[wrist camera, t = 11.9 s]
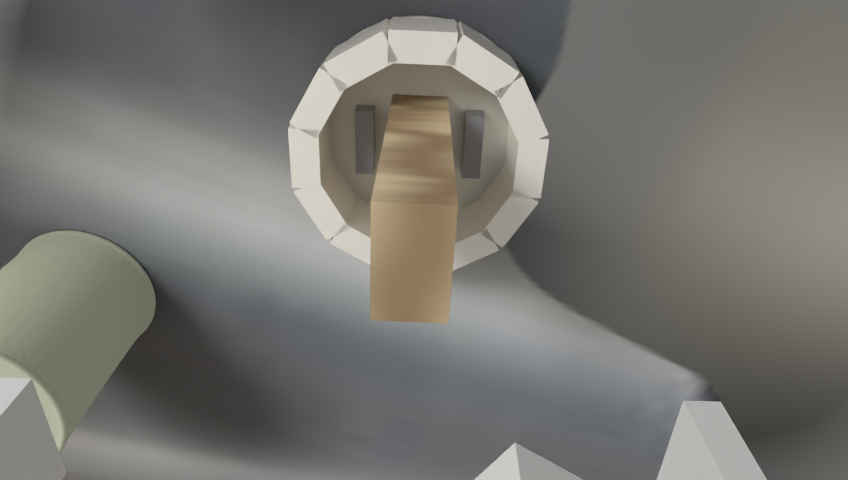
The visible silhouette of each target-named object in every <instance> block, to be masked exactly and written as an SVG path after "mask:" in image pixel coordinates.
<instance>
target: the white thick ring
mask: <svg viewBox="0 0 848 480" xmlns="http://www.w3.org/2000/svg"><path fill="white" fill-rule="evenodd" d="M393 94H401V95H422V96H443V97H448V104H449V115H450V126H451V136H452V147H453V157H454V168H455V179H456V189H457V200H458V212H457V224H456V237H455V249H454V262H453V270H455V269H458V268H460V267H462V266H465V265H467V264H469V263H471V262H474V261H476V260H478V259H481V258H483V257H485V256H487V255H490V254H492V253H494V252H497V251H499V248H498V245H499V246H501V247H504V246H505V244H506V243H507V242H508V240H509V239H510V238H511V237H512V236H513V234H514V233H515V232H516V230H517V229H518V228H519V227H520V225H521V224H522V223H523V222H524V220H525V219H526V218H527V217H528V216H529V214H530V213H531V212H532V211H533V209H534V208H535V207H536V206H537V204H538V203H539V202H538V199H537V198H541V193H542V187H543V180H544V172H545V166H546V159H547V153H548V146H549V138H548V136H547V135H548V132H547V129H546V127H545V125H544V123H543V120H542V118H541V116H540V114H539V111H538V109H537V107H536V104H535V102H534V100H533V98H532V95H531V93H530V91H529V89H528V86H527V84H526V82H525V79H524V77H523V75H522V74H521V72H520V70H519V68H518V67H517V65H516V63H515V61H514V60H513V59H512V58H511V56H510V55H509V54H508V53H506V52H505V51H503V50H502V49H500V48H499V47H498V46H497V45H496V44H495V43H493V42H492V41H491V40H489V39H488V38H487V37H486V36H484V35H483V34H481V33H480V32H478V31H476V30H474V29H473V28H471V27H469V26H466V25H465V24H463V23H462V22H461V21H460V22H457V21H455V19H446V18H442V17H436V16H427V15H408V16H402V17H393V18H391V19H388V18H386V19H385V20H383V21H381V22H378V23H376V24H374V25H371V26H369V27H367V28H365V29H363V30H361V31H360V32H358V33H357V34H355V35H354V36H352V37H351V38H349V39H348V40H347V41H345V42H344V43H342V44H340V45H338V46H336V47H335V48H334V49H333V51H331V52H330V54H329V55H328V56H327V58H326V59H325V60H324V62H323V63H322V65H321V66H320V67H319V69H318V71H317V73H316V74H315V76H314V78H313V80H312V82H311V84H310V86H309V87H308V89H307V91H306V93H305V95H304V97H303V98H302V100H301V102H300V104H299V106H298V108H297V110H296V111H295V113H294V115H293V117H292V119H291V121H290V123H289V124H291V125H290V126H289V128H288V136H289V150H290V165H291V179H292V188H296V189H295V191H294V194H295V195H296V197H297V198H298V199H299V201H300V202H301V204H302V205H303V207H304V208H305V210H306V211H307V213H308V214H309V216H310V217H311V219H312V220H313V221H314V223H315V224H316V226H317V227H318V229H319V230H320V232H321V233H322V235H323V236H324V238H325V239H326V240H328V239H330V238H332V239H331V242H330V244H332V245H334V246H336V247H337V248H339V249H341V250H343V251H345V252H347V253H349V254H350V255H352V256H354V257H356V258H358V259H360V260H362V261H364V262H365V263H367V264H369V265H370V234H371V197H372V192H373V188H374V183H375V178H376V173H377V169H378V164H379V159H380V154H381V150H382V145H383V140H384V135H385V131H386V126H387V121H388V116H389V112H390V107H391V102H392V97H393Z"/></svg>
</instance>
